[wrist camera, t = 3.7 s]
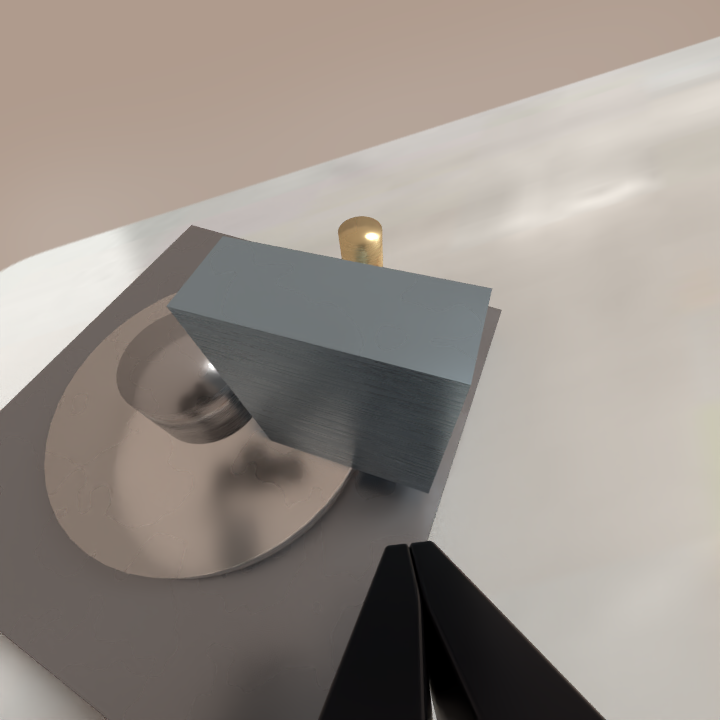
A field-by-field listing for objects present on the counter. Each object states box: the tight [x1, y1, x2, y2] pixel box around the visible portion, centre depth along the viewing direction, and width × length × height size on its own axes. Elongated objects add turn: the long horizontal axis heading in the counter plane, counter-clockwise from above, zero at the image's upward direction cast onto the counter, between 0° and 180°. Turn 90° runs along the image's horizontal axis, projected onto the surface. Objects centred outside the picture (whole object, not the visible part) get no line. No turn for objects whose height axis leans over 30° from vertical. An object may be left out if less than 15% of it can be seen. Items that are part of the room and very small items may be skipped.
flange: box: [44, 236, 492, 579], centre depth 11 cm, size 14×12×8 cm
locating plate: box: [0, 216, 501, 720], centre depth 14 cm, size 18×18×6 cm
